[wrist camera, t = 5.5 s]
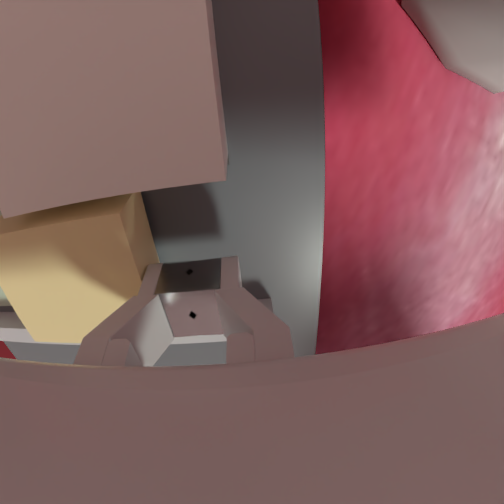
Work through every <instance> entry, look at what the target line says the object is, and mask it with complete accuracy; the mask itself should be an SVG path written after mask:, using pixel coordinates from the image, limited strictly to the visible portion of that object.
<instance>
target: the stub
mask: <svg viewBox="0 0 504 504" xmlns="http://www.w3.org/2000/svg"><path fill="white" fill-rule="evenodd" d="M155 263H160V262H159V258H158V255H157V251H156V248H155V244H154V241H153V237H152V233H151V230H150V226H149V222H148V218H147V215H146V211H145V207H144V203H143V199H142V195H141V192H136V193H130V194H123V195H117V196H111V197H106V198H100V199H94V200H89V201H84V202H78V203H73V204H68V205H63V206H58V207H53V208H49V209H44V210H39V211H35V212H30V213H26V214H22V215H17V216H13V217H9V218H5V219H4V218H3V216H2V215H1V216H0V286H1V288H2V290H3V292H4V293H5V295H6V297H7V299H8V300H9V302H10V304H11V305H12V307H13V309H14V310H15V312H16V314H17V315H18V317H19V318H20V320H21V321H22V323H23V325H24V326H25V328H26V329H27V331H28V332H29V334H30V335H31V337H32V338H33V339H34V341H35V342H55V343H81V342H82V339H83V337H85V336H86V335H87V334H88V333H89V332H91V331H92V330H93V329H94V328H95V327H97V326H98V325H99V324H100V323H101V322H102V321H104V320H105V319H106V318H107V317H108V316H110V315H111V314H112V313H113V312H115V311H116V310H117V309H118V308H119V307H121V306H122V305H123V304H124V303H125V302H127V301H128V300H129V299H130V298H132V297H133V296H137V295H138V292H139V289H140V286H141V283H142V281H143V278H144V275H145V272H146V269H147V266H148V265H149V264H155Z"/></svg>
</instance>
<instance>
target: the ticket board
mask: <svg viewBox="0 0 504 504" xmlns="http://www.w3.org/2000/svg"><path fill="white" fill-rule="evenodd" d="M136 192H141V195H142V199H143V203H144V207H145V211H146V215H147V218H148V222H149V226H150V230H151V233H152V237H153V241H154V244H155V248H156V251H157V255H158V258H159V262H160V263H166V262H180V261H193V260H194V261H197V260H206V259H214V258H222V257H229V256H236V255H237V256H238V258H239V264H240V272H241V280H242V287H244V288H245V289H246V290H247V291H248V292H249V293H251V294H252V295H253V296H254V297H255V298H256V299H257V300H258V301H260V302H261V303H262V304H263V305H264V306H265V307H267V308H268V309H269V310H270V311H271V312H272V313H273V314H275V315H276V316H277V317H278V318H279V319H280V320H282V321H283V322H284V323H285V324H286V325H287V326H289V328H290V334H291V339H292V345H293V350H294V356H295V357H300V356H308V355H315V350H316V340H317V329H318V317H319V304H320V290H321V274H322V255H323V233H324V199H325V117H324V85H323V64H322V47H321V32H320V19H319V8H318V0H0V216H1V215H2V216H3V218H4V219H5V218H9V217H13V216H17V215H22V214H26V213H30V212H35V211H39V210H44V209H49V208H53V207H58V206H63V205H68V204H73V203H78V202H84V201H89V200H94V199H100V198H106V197H111V196H117V195H123V194H130V193H136ZM0 341H4V343H5V344H6V345H7V347H8V348H9V349H10V351H11V352H12V353H13V355H14V356H15V357H16V358H17V360H25V361H35V362H46V363H58V364H73V363H74V360H75V358H76V355H77V352H78V350H79V347H80V345H81V343H55V342H35V341H34V339H33V338H32V337H31V335H30V334H29V332H28V331H27V329H26V328H25V326H24V325H23V323H22V321H21V320H20V318H19V317H18V315H17V314H16V312H15V310H14V309H13V307H12V305H11V304H10V302H9V300H8V299H7V297H6V295H5V293H4V292H3V290H2V288H1V286H0ZM226 348H227V339H226V337H225V336H224V334H221V335H198V336H186V337H174V340H173V341H172V342H171V344H170V345H169V346H168V347H167V349H166V350H165V351H164V353H163V354H162V355H161V356H160V358H159V359H158V360H157V361H156V363H155V364H154V365H153V366H188V365H210V364H226Z"/></svg>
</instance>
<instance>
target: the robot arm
mask: <svg viewBox="0 0 504 504" xmlns="http://www.w3.org/2000/svg"><path fill="white" fill-rule="evenodd" d="M221 334H224V336H225V337H226V339H227V348H226V364H210V365H188V366H153V365H154V364H155V363H156V361H157V360H158V359H159V358H160V356H161V355H162V354H163V353H164V351H165V350H166V349H167V347H168V346H169V345H170V344H171V342H172V341H173V340H174V337H186V336H198V335H221ZM0 504H504V313H502V314H499V315H496V316H492V317H489V318H486V319H482V320H479V321H475V322H472V323H468V324H465V325H461V326H457V327H453V328H449V329H445V330H441V331H437V332H433V333H429V334H425V335H420V336H416V337H411V338H407V339H402V340H397V341H392V342H387V343H382V344H377V345H371V346H366V347H360V348H354V349H348V350H342V351H336V352H329V353H323V354H316V355H308V356H300V357H295V356H294V350H293V345H292V339H291V334H290V328H289V326H287V325H286V324H285V323H284V322H283V321H282V320H280V319H279V318H278V317H277V316H276V315H275V314H273V313H272V312H271V311H270V310H269V309H268V308H267V307H265V306H264V305H263V304H262V303H261V302H260V301H258V300H257V299H256V298H255V297H254V296H253V295H252V294H251V293H249V292H248V291H247V290H246V289H245V288H244V287H242V280H241V272H240V264H239V258H238V256H237V255H236V256H229V257H222V258H214V259H206V260H197V261H194V260H193V261H180V262H166V263H155V264H149V265H148V266H147V269H146V272H145V275H144V278H143V281H142V283H141V286H140V289H139V292H138V295H137V296H133V297H132V298H130V299H129V300H128V301H127V302H125V303H124V304H123V305H122V306H121V307H119V308H118V309H117V310H116V311H115V312H113V313H112V314H111V315H110V316H108V317H107V318H106V319H105V320H104V321H102V322H101V323H100V324H99V325H98V326H97V327H95V328H94V329H93V330H92V331H91V332H89V333H88V334H87V335H86V336H85V337H83V339H82V342H81V345H80V347H79V350H78V352H77V355H76V358H75V360H74V363H73V364H58V363H46V362H35V361H25V360H16V359H7V358H0Z"/></svg>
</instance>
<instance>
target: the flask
mask: <svg viewBox="0 0 504 504" xmlns="http://www.w3.org/2000/svg"><path fill="white" fill-rule="evenodd" d="M401 6H402V7H403V8H404V10H405V11H406V12H407V13H408V15H409V16H410V17H411V19H412V20H413V21H414V23H415V24H416V25H417V27H418V28H419V29H420V31H421V32H422V34H423V35H424V36H425V38H426V39H427V41H428V42H429V44H430V45H431V47H432V48H433V50H434V51H435V53H436V54H437V56H438V57H439V59H440V60H441V62H442V64H443V65H444V67H445V68H446V69H448V70H450V71H452V72H454V73H456V74H458V75H460V76H462V77H464V78H466V79H468V80H470V81H472V82H474V83H476V84H478V85H479V86H481V87H483V88H485V89H487V90H488V91H490V92H492V93H493V94H495V93H499V92H504V0H402V3H401Z"/></svg>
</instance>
